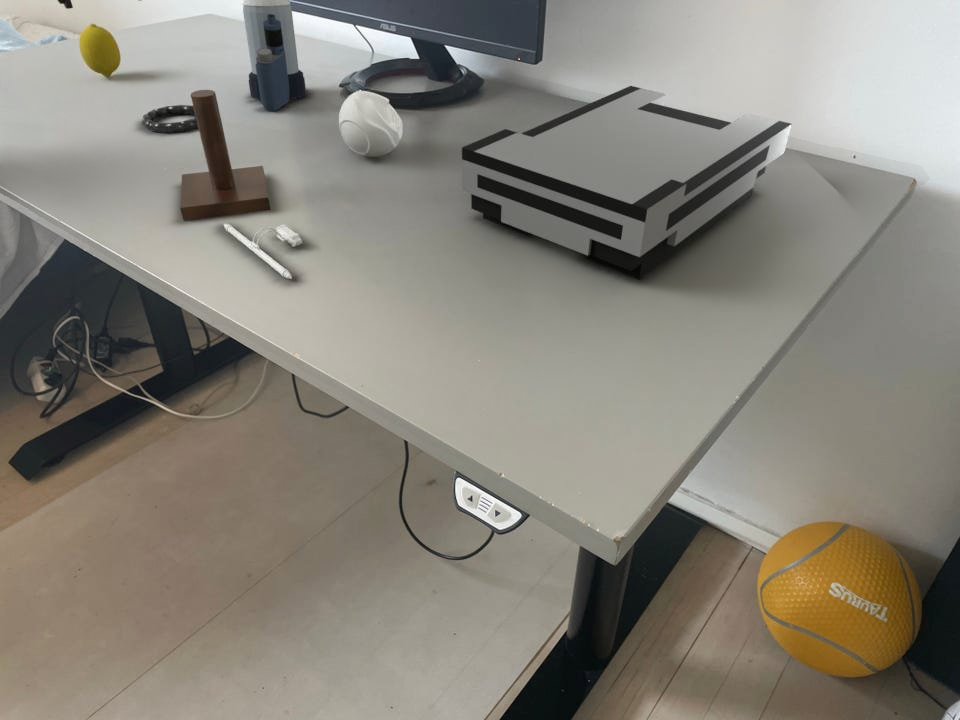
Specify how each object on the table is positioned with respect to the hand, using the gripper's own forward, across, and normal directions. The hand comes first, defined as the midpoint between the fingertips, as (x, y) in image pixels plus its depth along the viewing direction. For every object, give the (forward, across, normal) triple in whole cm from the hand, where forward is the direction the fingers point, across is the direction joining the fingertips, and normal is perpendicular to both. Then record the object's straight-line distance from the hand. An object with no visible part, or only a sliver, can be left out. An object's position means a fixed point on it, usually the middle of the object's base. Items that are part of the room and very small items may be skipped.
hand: (105, 3), depth 90 cm
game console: (+15, -39, +56) cm, 70 cm away
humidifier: (+15, -20, +1) cm, 25 cm away
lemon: (+15, -1, -24) cm, 28 cm away
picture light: (+15, -2, +45) cm, 47 cm away
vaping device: (+15, -18, +4) cm, 24 cm away
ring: (+14, -4, +3) cm, 15 cm away
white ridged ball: (+15, -22, +28) cm, 39 cm away
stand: (+15, -2, +31) cm, 34 cm away
